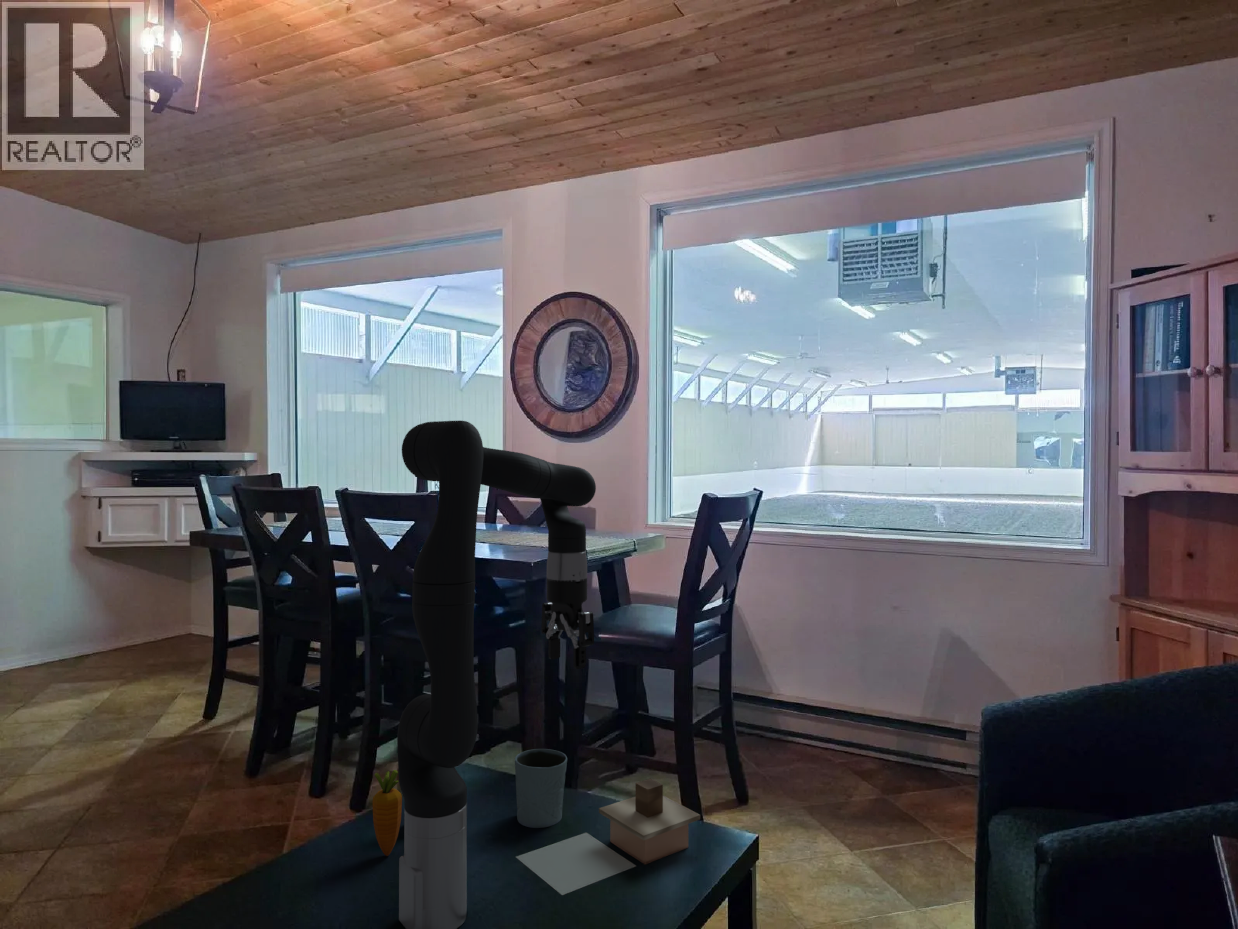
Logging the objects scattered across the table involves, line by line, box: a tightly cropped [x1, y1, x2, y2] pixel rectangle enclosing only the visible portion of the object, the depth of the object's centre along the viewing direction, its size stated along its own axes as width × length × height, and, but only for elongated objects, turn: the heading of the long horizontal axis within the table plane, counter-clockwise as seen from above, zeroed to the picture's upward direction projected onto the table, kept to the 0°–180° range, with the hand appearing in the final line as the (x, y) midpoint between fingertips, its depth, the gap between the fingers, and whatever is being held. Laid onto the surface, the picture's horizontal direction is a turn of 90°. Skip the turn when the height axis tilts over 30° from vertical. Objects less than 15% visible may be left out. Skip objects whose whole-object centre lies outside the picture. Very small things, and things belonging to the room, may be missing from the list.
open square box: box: [609, 819, 689, 865], centre depth 138 cm, size 10×10×6 cm
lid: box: [598, 778, 701, 840], centre depth 138 cm, size 13×13×6 cm
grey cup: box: [514, 748, 568, 829], centre depth 149 cm, size 10×10×12 cm
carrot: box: [372, 769, 403, 857], centre depth 135 cm, size 5×5×15 cm
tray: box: [515, 832, 637, 896], centre depth 132 cm, size 15×15×1 cm
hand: (566, 663), depth 142 cm, fingers open, 8 cm apart
